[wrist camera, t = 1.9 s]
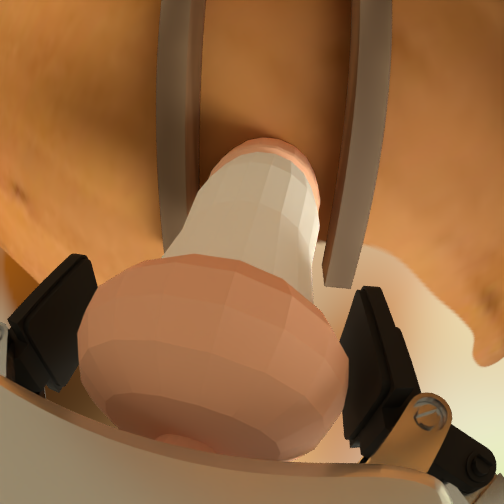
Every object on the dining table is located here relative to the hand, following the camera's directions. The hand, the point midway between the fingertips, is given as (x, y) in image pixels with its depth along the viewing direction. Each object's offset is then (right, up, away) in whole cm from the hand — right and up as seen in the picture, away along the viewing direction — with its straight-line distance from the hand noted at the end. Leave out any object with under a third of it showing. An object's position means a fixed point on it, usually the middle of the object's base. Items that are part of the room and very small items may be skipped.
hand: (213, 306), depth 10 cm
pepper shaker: (+2, +7, +12) cm, 14 cm away
